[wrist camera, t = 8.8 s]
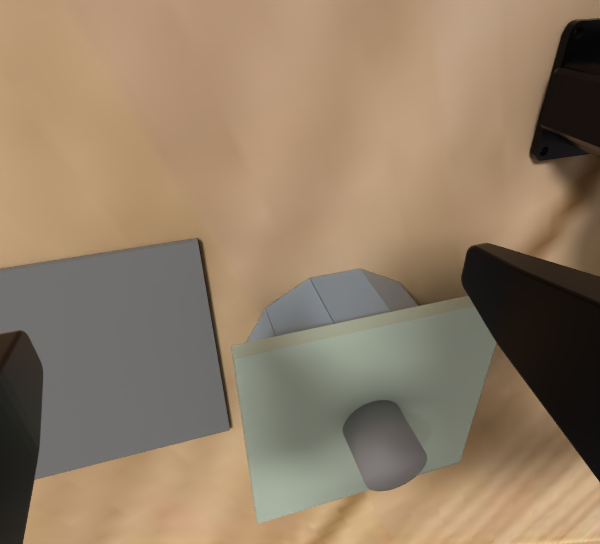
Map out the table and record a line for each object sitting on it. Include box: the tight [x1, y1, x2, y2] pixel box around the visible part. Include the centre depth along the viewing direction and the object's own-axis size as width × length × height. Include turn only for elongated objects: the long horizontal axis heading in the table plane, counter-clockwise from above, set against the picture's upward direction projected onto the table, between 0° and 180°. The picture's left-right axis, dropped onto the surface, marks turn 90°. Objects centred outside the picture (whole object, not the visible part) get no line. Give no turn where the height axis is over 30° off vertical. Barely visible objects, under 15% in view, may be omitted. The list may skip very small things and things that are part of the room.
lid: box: [231, 296, 496, 524], centre depth 22 cm, size 13×13×4 cm
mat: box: [0, 238, 230, 480], centre depth 23 cm, size 14×14×1 cm
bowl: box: [246, 269, 418, 343], centre depth 26 cm, size 11×11×5 cm
